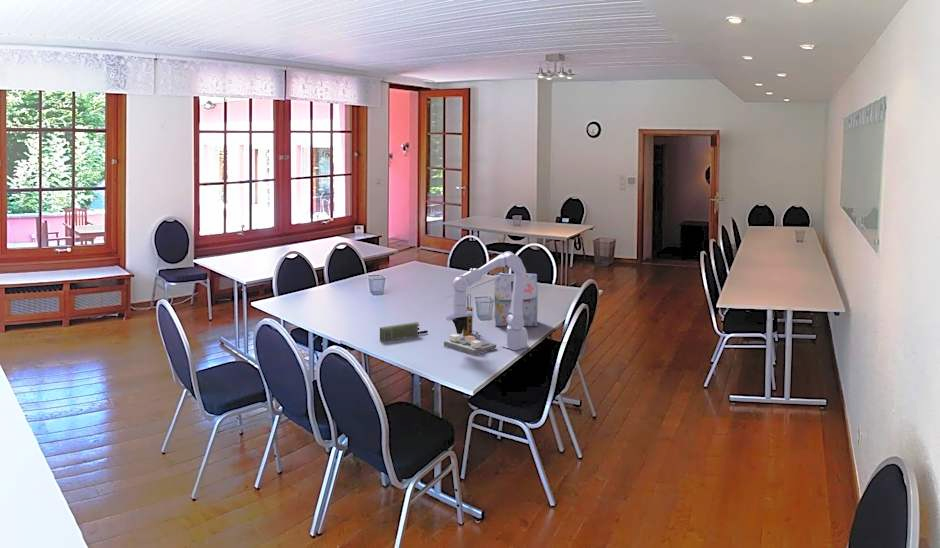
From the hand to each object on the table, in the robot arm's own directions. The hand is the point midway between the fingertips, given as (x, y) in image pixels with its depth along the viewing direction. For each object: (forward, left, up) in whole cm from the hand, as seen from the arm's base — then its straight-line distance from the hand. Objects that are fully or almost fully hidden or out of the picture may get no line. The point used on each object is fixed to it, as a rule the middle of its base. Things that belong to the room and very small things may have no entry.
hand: (459, 333), depth 340 cm
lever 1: (-4, -7, -5) cm, 10 cm away
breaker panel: (-7, 0, -8) cm, 10 cm away
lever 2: (-4, +7, -6) cm, 10 cm away
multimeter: (-23, -13, -8) cm, 27 cm away
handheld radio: (+4, -34, -8) cm, 35 cm away
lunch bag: (-53, -14, -8) cm, 55 cm away
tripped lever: (-7, 0, -6) cm, 9 cm away
